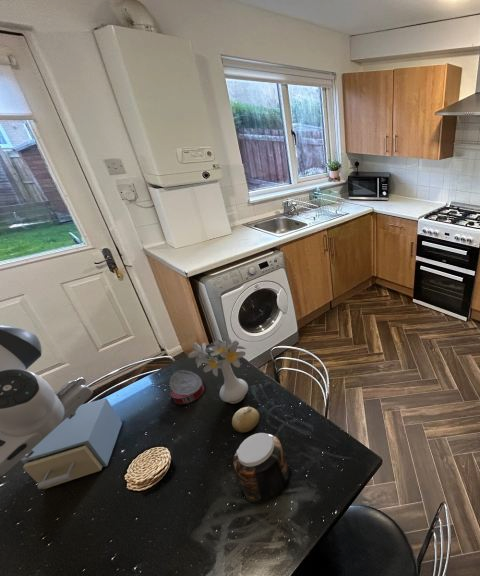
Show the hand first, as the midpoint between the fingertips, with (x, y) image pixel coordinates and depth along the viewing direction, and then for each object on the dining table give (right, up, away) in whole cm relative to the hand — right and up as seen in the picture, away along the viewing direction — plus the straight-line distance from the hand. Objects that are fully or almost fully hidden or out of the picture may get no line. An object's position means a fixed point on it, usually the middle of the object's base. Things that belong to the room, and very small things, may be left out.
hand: (49, 433), depth 74 cm
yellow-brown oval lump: (+35, -10, +28) cm, 46 cm away
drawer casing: (-10, -15, +20) cm, 27 cm away
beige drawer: (-8, -16, +16) cm, 24 cm away
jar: (+47, -19, +12) cm, 52 cm away
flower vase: (+26, -5, +38) cm, 46 cm away
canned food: (+8, -4, +40) cm, 41 cm away
